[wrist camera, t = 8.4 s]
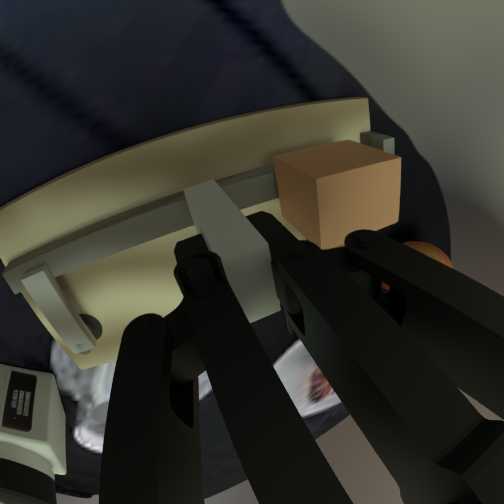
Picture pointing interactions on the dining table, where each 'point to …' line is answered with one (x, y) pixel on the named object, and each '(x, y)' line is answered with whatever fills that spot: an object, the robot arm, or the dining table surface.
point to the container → (30, 436)
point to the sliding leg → (338, 190)
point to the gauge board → (150, 217)
